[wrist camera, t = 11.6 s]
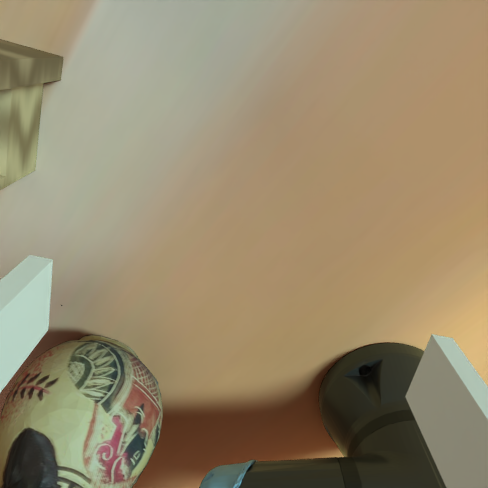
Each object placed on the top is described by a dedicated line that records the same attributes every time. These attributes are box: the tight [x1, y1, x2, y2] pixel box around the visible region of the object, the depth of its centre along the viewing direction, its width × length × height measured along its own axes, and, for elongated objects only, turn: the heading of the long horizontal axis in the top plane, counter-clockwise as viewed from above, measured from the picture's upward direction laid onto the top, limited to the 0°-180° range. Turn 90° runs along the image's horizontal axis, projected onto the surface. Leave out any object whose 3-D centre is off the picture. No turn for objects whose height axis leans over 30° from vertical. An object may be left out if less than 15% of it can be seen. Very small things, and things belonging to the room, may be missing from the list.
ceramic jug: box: [0, 305, 163, 488], centre depth 40 cm, size 17×15×30 cm
